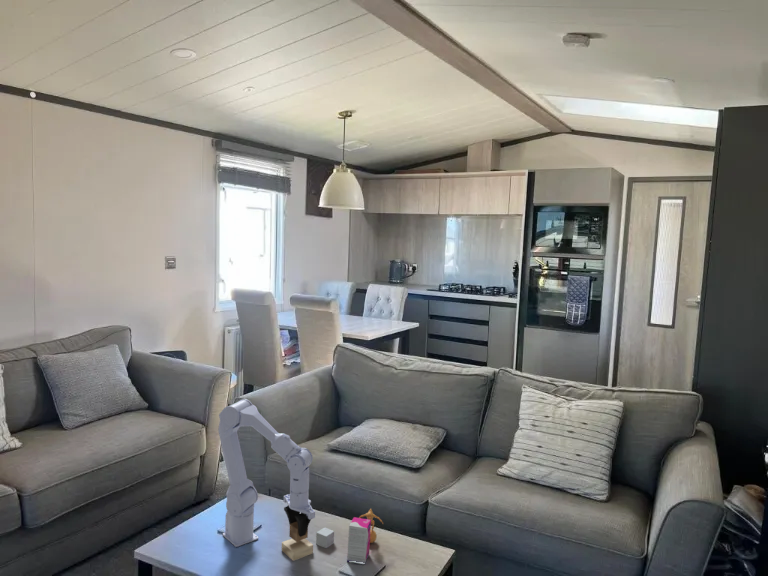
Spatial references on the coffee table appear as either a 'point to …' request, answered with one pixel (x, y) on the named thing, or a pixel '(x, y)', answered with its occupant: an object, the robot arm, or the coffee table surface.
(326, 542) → the grey cube
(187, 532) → the coffee table surface
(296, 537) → the walnut cube
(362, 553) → the supplement box
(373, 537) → the figurine
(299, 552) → the beech slab
